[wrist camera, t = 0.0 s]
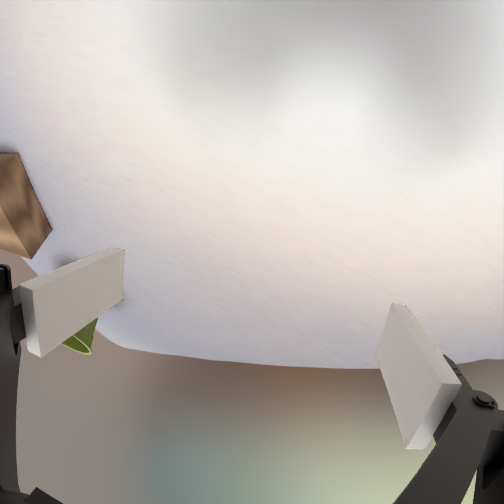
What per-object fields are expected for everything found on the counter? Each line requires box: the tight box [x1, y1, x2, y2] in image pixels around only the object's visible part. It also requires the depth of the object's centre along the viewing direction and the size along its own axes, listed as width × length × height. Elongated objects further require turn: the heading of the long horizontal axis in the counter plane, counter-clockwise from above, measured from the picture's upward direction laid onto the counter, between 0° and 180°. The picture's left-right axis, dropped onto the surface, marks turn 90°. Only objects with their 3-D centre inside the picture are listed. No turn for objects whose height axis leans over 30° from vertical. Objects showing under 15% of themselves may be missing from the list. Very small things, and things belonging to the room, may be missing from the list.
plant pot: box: [61, 317, 98, 355], centre depth 48 cm, size 12×12×11 cm
